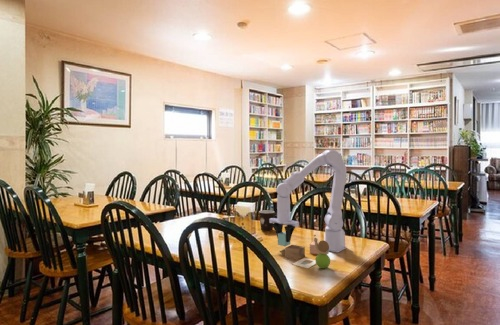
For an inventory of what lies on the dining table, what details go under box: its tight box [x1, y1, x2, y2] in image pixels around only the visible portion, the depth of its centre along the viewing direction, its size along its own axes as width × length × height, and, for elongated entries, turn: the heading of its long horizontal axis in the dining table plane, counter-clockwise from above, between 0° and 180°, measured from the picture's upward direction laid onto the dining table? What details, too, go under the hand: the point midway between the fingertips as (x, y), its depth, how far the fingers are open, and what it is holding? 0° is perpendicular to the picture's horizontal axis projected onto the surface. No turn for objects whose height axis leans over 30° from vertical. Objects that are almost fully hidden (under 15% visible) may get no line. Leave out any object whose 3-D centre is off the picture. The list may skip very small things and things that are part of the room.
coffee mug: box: [258, 209, 277, 232], centre depth 187 cm, size 12×9×10 cm
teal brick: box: [277, 231, 291, 247], centre depth 151 cm, size 4×4×5 cm
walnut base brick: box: [284, 244, 306, 261], centre depth 142 cm, size 6×6×4 cm
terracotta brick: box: [309, 241, 320, 255], centre depth 147 cm, size 4×4×4 cm
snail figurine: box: [313, 234, 331, 269], centre depth 128 cm, size 5×6×12 cm
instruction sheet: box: [292, 257, 317, 269], centre depth 133 cm, size 9×7×1 cm
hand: (284, 240), depth 151 cm, fingers closed on teal brick, 4 cm apart
